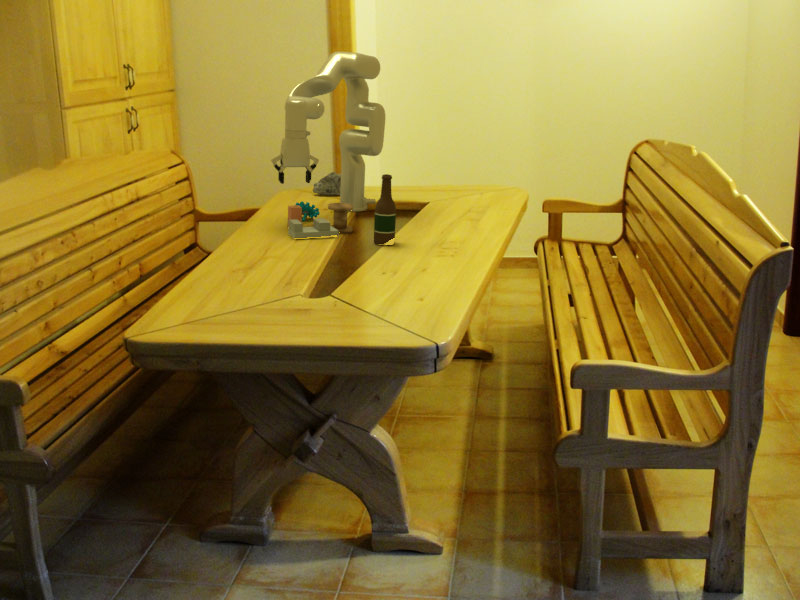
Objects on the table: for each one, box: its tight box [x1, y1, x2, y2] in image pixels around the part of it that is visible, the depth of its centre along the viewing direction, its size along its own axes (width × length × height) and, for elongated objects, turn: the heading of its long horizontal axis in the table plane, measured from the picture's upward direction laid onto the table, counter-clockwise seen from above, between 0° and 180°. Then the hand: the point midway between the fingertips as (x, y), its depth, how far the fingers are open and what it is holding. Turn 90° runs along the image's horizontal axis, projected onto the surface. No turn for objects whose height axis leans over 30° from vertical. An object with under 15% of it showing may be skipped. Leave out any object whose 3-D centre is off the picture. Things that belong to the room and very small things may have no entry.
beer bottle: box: [373, 174, 397, 245], centre depth 336 cm, size 8×8×24 cm
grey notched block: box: [287, 217, 340, 239], centre depth 344 cm, size 16×8×6 cm, turn 112°
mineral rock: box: [312, 171, 341, 197], centre depth 415 cm, size 13×11×10 cm
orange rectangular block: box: [287, 204, 303, 228], centre depth 354 cm, size 4×4×8 cm
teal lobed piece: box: [293, 201, 320, 222], centre depth 368 cm, size 11×6×10 cm
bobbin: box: [327, 202, 353, 235], centre depth 354 cm, size 9×9×9 cm
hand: (294, 182), depth 350 cm, fingers open, 9 cm apart
